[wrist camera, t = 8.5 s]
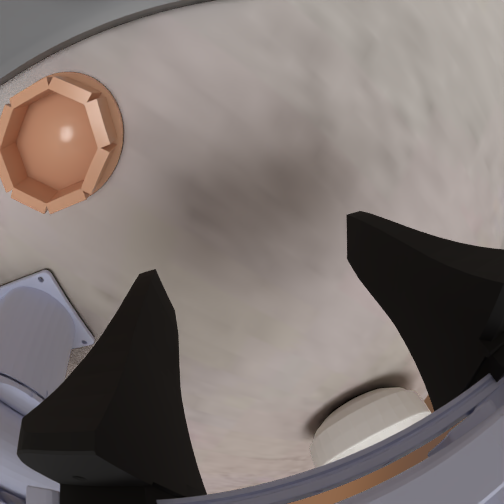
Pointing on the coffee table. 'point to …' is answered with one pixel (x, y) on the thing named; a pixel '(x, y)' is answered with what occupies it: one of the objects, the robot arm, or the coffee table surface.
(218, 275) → the coffee table surface
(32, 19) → the charcoal tray
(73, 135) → the terracotta cup
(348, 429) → the bowl
